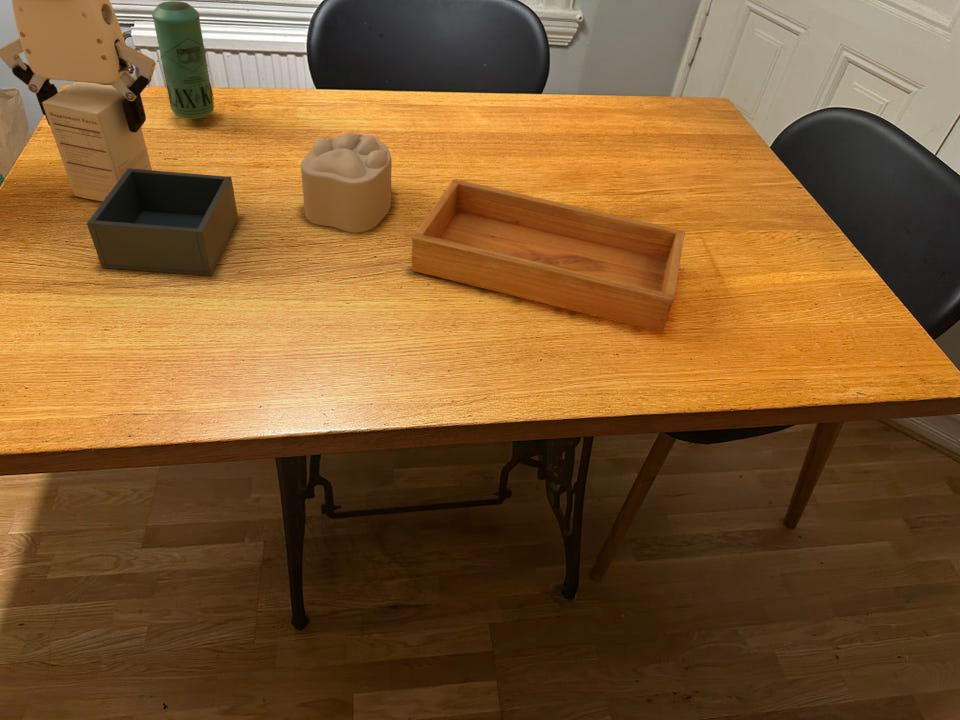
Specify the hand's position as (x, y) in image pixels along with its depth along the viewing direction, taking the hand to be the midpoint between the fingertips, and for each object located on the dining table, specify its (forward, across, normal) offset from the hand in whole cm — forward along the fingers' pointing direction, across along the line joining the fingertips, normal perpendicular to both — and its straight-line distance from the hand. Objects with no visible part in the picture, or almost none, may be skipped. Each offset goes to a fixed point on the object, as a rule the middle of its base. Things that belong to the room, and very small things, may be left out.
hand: (97, 124), depth 86 cm
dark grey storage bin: (+9, -11, +11) cm, 18 cm away
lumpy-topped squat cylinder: (+9, -31, -1) cm, 32 cm away
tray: (+9, -57, +11) cm, 59 cm away
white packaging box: (+9, 0, 0) cm, 9 cm away
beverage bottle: (+9, -4, -22) cm, 24 cm away
